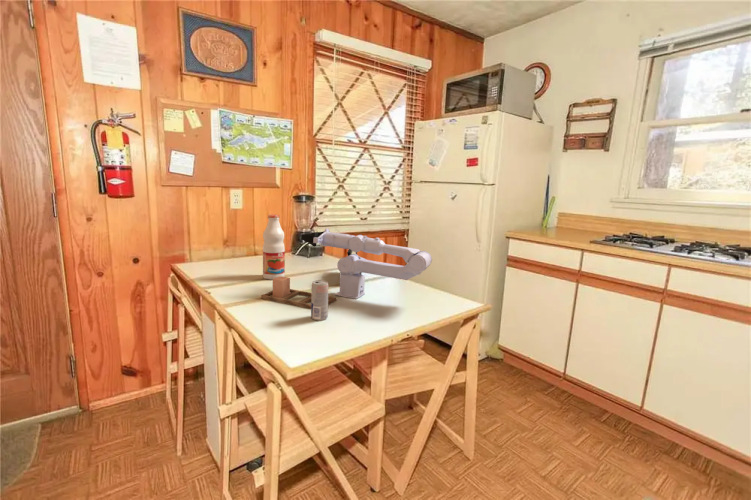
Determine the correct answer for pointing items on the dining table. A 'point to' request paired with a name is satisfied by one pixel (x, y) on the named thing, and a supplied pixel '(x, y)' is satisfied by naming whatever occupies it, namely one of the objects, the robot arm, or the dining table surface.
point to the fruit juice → (273, 249)
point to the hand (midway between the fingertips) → (306, 236)
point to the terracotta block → (281, 286)
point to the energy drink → (319, 300)
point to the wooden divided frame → (295, 298)
